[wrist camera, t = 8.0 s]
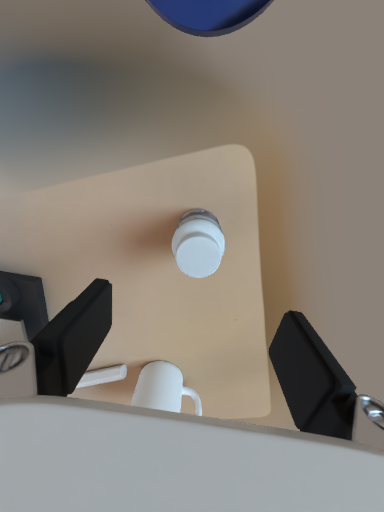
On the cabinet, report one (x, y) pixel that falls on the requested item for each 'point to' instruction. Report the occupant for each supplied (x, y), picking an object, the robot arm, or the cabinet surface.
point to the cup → (162, 388)
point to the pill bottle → (198, 243)
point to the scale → (24, 301)
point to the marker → (103, 376)
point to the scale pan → (12, 330)
